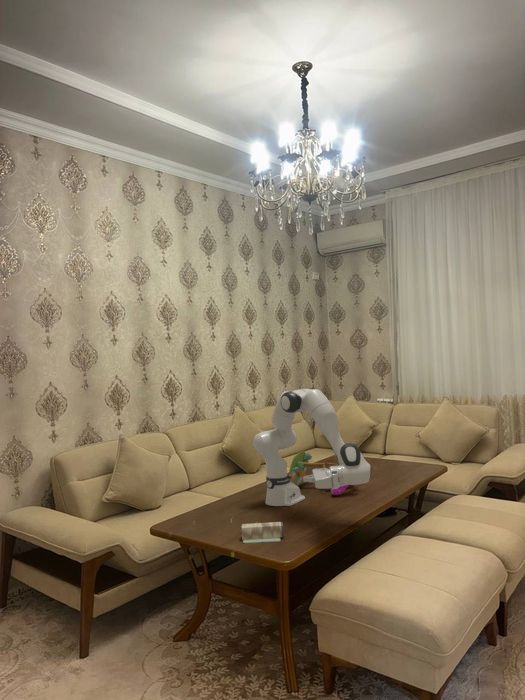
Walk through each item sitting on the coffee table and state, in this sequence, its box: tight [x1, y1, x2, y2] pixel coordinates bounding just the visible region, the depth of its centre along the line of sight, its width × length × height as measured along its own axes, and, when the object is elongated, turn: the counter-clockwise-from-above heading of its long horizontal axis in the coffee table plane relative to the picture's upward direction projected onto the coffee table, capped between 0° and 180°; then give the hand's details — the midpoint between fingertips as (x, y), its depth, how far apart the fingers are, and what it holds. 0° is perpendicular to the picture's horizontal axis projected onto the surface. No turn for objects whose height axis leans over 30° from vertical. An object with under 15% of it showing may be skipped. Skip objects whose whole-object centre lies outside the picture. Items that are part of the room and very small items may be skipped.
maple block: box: [241, 521, 284, 540], centre depth 230 cm, size 5×5×18 cm
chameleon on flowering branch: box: [287, 450, 350, 496], centre depth 298 cm, size 30×28×35 cm
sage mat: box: [242, 537, 281, 544], centre depth 230 cm, size 16×12×1 cm
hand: (303, 479), depth 230 cm, fingers closed
